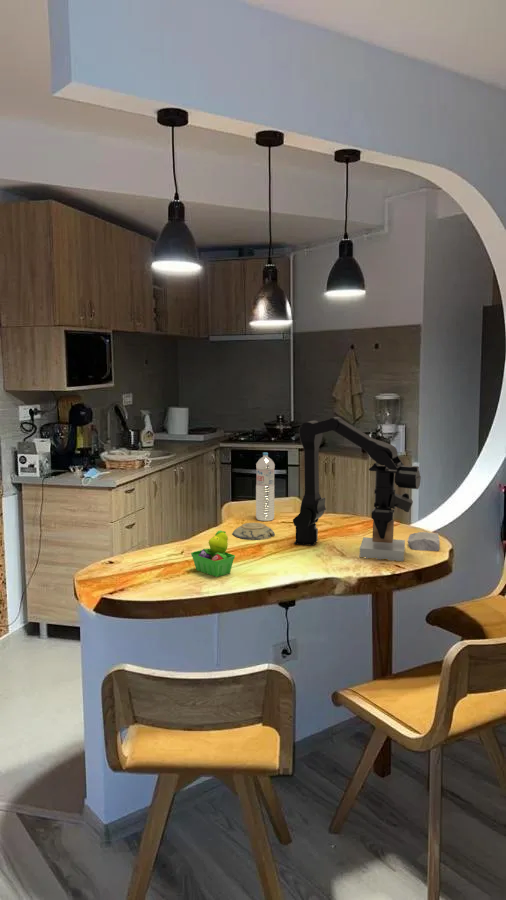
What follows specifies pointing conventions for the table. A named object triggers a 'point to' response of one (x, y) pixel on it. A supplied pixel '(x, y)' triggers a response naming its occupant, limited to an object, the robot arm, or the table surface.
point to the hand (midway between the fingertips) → (382, 535)
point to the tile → (382, 549)
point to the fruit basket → (214, 556)
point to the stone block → (424, 541)
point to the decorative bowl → (253, 531)
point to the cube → (388, 534)
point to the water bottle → (265, 488)
